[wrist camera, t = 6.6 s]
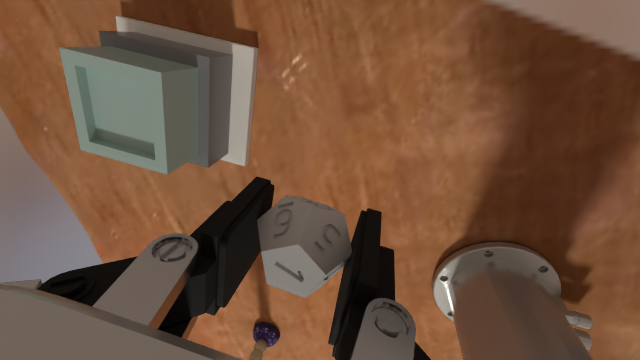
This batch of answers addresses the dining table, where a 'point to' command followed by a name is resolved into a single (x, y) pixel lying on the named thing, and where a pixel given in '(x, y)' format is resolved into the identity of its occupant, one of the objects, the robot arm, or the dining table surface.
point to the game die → (302, 244)
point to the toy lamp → (263, 339)
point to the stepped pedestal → (162, 96)
